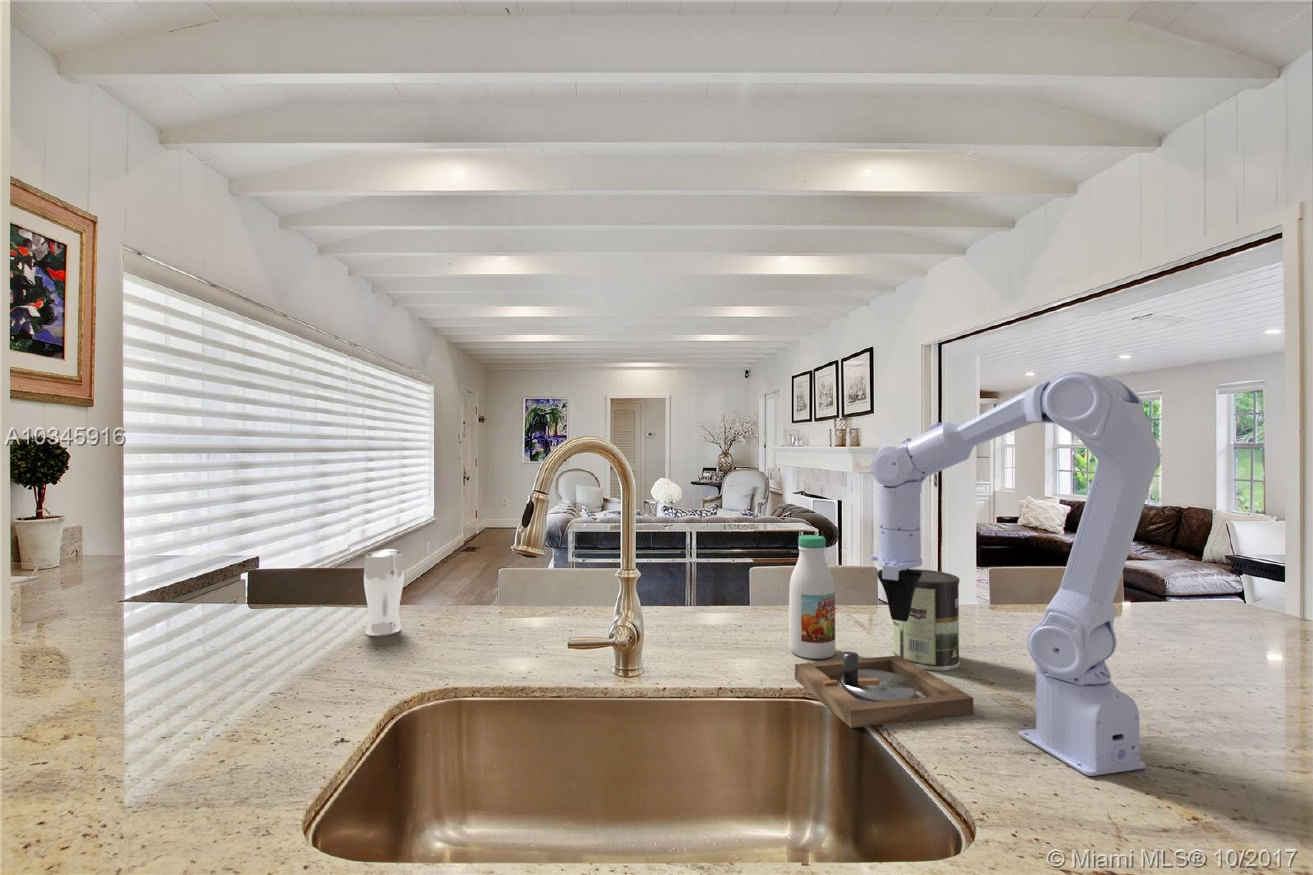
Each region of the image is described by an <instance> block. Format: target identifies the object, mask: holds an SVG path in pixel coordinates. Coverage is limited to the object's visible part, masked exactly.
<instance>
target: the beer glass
mask: <svg viewBox="0 0 1313 875" xmlns="http://www.w3.org/2000/svg"><path fill="white" fill-rule="evenodd" d="M364 557H365V558H364V566H363V586H364V587H363V588H364V592H365V598H366V604H367V610H368V611H367V613H368V614H367V615H368V617H367V624H366V628H365V634H366V635H367V637H368V636H369V637H387V636H391V635H394V634H397V633H399V632H401V630H402V626H401V620H400V604H401V599H402V593H403V588H404V580H405V565H404V563H405V562H404V552H403V550H399V549H383V550H375V551H373V550H372V551H369V552H366V553H365V556H364Z"/></svg>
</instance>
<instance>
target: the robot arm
mask: <svg viewBox="0 0 1313 875" xmlns="http://www.w3.org/2000/svg"><path fill="white" fill-rule="evenodd" d="M1144 410H1145V409H1144V401H1143V400H1142V399H1141V398H1140V397H1139V396H1138V395H1137V394H1136V393H1135V392H1134V391H1133V390H1131V389H1130V387H1128V386H1127V385H1126V384H1125V383H1124V382H1123V381H1120V380H1119V379H1116V378H1113V377H1109V376H1108V377H1107V376H1096V375H1094V374H1091V373H1088V372H1085V371H1084V372H1083V371H1071V372H1067V373H1063V374H1060V375H1058V376H1057V377H1056V378H1054V379H1053V380H1052V381H1050V380H1049V381H1048V380H1047V381H1044V382H1040V383H1038V384H1036V385H1034V386H1032V387H1030V388H1029V389H1027V390H1025V391H1024V392H1021V393H1019V394H1018V395H1016V396H1014V397H1012V398H1010V399H1008V400H1007V401H1004V402H1003V403H1001V404H999V405H997V406H996V407H995V406H994V407H993V408H991V409H989V410H988V411H984V412H983V413H982V414H980V415H978V416H976V417H974V418H972V419H971V420H968V421H966V422H964V423H963V424H961V425H957V424H954V423H952V422H945V423H942V422H933V423H932V424H930V425H929V426H928V428H929V430H928V431H926V432H923V433H922V434H920V435H917V436H916V437H914V438H910V437H909V438H904V439H902V440H901V444H900V445H899V447H896V446H883V447H882V448H881V449H880V450H879V451H877V452H876V453H875V454H874V456H873V457H872V460H871V464H870V468H871V469H870V470H871V473H872V476H873V478H874V479H875V481H876V482H877V483H878V491H879V492H878V518H879V519H878V530H879V531H878V542H879V544H878V545H879V546H878V547H879V551H878V553H873V554H870V560H871V561H874V562H878V563H879V564H880V566H881V569H879V570H878V571H877V579H878V580H879V582H880V584H881V585H882V587H883V590H884V592H885V596H886V600H887V605H888V609H889V614H890V617H891V620H892V621H893V620H898V621H904V622H907V620H908V618H909V615H910V610H911V605H912V600H913V595H914V591H915V588H916V586H917V583H918V581H919V579H920V577H921V576H922V571H919V570H920V569H919V570H912V569H914V568H917V567H921V566H922V565H923V558H922V557H921V556H922V554H921V553H922V550H921V549H922V548H921V544H922V543H921V540H922V537H921V535H922V534H921V532H922V531H921V530H922V528H921V524H922V523H921V518H922V517H921V515H922V514H921V503H922V502H921V500H922V499H921V494H922V485H923V482H924V481H925V480H926V479H927V477H930V476H931V475H934V474H936V473H939V472H941V471H943V470H946V469H948V468H950V467H953V466H955V465H958V464H960V463H962V462H965V461H966V460H967V461H968V459H969V458H970V456H971V454H972V452H973V449H974V447H975V446H978V445H981V444H983V443H985V442H988V441H990V440H993V439H996V438H999V437H1001V436H1004V435H1007V434H1009V433H1012V432H1014V431H1016V430H1019V429H1021V428H1025V427H1027V426H1029V425H1033V424H1056V425H1057V426H1059V427H1061V428H1063V429H1064V430H1066V431H1068V432H1069V433H1071V434H1072V435H1074V436H1076V437H1077V438H1079V440H1080V441H1081V442H1082V444H1084V446H1085V447H1086V448H1087V449H1088V451H1089V452H1090V453H1091V454H1092V455H1093V456H1094V457H1095V459H1096V460H1097V464H1096V467H1095V470H1094V474H1093V478H1092V481H1091V484H1090V488H1089V490H1088V494H1087V497H1086V501H1085V503H1084V507H1083V510H1082V514H1081V516H1080V520H1079V524H1078V527H1077V530H1076V534H1075V537H1074V540H1073V543H1072V547H1071V549H1070V553H1069V556H1068V559H1067V563H1066V566H1065V570H1064V572H1063V576H1062V579H1061V582H1060V586H1059V589H1058V590H1057V592H1056V593H1055V595H1054V596H1053V597H1052V599H1051V600H1050V602H1049V603H1048V605H1047V606H1046V608H1045V611H1044V615H1043V617H1042V619H1041V620H1040V621H1039V622H1038V623H1037V624H1035V625H1034V626H1032V628H1031V629H1030V630H1029V633H1027V634H1028V635H1027V638H1026V640H1027V641H1026V644H1027V645H1026V646H1027V650H1028V653H1029V655H1030V658H1031V659H1032V660H1033V662H1034V663H1035V710H1036V711H1035V712H1036V713H1035V726H1036V727H1035V728H1029V729H1022V730H1018V735H1019V736H1020V737H1021V738H1023V739H1024V740H1026V741H1028V742H1029V743H1031V744H1033V745H1035V746H1036V747H1038V748H1040V749H1042V750H1043V751H1045V752H1047V753H1048V754H1050V755H1051V756H1053V757H1054V758H1057V759H1058V760H1060V761H1062V762H1063V763H1065V764H1066V765H1069V766H1071V767H1072V768H1073V769H1075V770H1076V771H1078V772H1080V773H1082V774H1083V775H1086V776H1089V777H1092V776H1093V777H1094V776H1101V775H1108V774H1113V773H1114V774H1116V773H1120V772H1127V771H1128V772H1129V771H1134V770H1142V769H1145V768H1146V763H1145V762H1143V761H1141V760H1140V758H1141V756H1140V754H1141V752H1140V747H1141V746H1140V713H1139V709H1138V706H1137V704H1136V702H1135V701H1134V699H1133V698H1132V697H1130V695H1127V693H1125V692H1123V691H1122V690H1120V689H1118V688H1117V687H1116V686H1115V684H1114V683H1113V682H1112V680H1111V675H1112V674H1111V672H1110V669H1109V668H1108V665H1107V664H1106V660H1107V659H1110V658H1111V657H1112V656H1113V654H1114V652H1116V648H1117V636H1116V633H1115V630H1114V621H1115V618H1116V614H1117V610H1116V608H1115V604H1114V599H1115V597H1116V592H1117V589H1118V586H1119V584H1120V582H1121V581H1120V580H1121V577H1122V575H1123V571H1124V569H1125V565H1126V563H1127V559H1128V556H1129V553H1130V549H1131V548H1132V547H1131V546H1132V544H1133V540H1134V537H1135V533H1136V532H1137V528H1138V525H1139V522H1140V519H1141V516H1142V512H1143V509H1144V506H1145V503H1146V500H1147V497H1148V494H1149V491H1150V487H1151V484H1152V482H1153V479H1154V476H1155V473H1156V472H1155V471H1156V469H1157V466H1158V463H1159V460H1160V448H1159V445H1158V443H1157V440H1156V437H1155V436H1154V434H1153V431H1152V429H1151V428H1152V427H1151V426H1150V424H1149V422H1148V418H1147V416H1146V414H1145V411H1144Z"/></svg>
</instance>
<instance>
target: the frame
mask: <svg viewBox="0 0 1313 875" xmlns="http://www.w3.org/2000/svg"><path fill="white" fill-rule="evenodd" d="M858 669H872V670H881V671H886V672H890V673H894V674H897V675H900V676H902V677H905V678H906V679H908V680H910V681H911V682H912V683H913V684H914V685H915V687H916V692H918V693H920V694H921V695H923V696H924V697H916V698H912V699H902V700H892V701H882V702H872V703H861V702H859V701H858V700H857V699H856V698H854V697H853V696H852V695H850V694H849V693H848V692H847V691H845V690H844V689H843V688H841V685H839V681H837V680H839V679H840V680H841V677H842V675H843V659H842V660H841V659H839V660H828V661H816V662H815V661H814V662H806V663H805V662H803V663H795V664H794V679H795V681H797V682H798V683H799V684H800V685H801V686H802V687H804V688H805V687H806V688H805V689H806V690H807V691H808V693H809V692H810V694H812V695H813V696H814V697H815V698H816V699H817V700H818V701H819V702H820V703H822V704H823V705H824V706H826V708H828V709H829V710H830V711H831V712H832V713H833V714H834V715H835V716H837V717H838V719H840V720H841V721H842V722H844V723H845V725H847V726H848V727H849V728H850V729H853V728H862V727H863V728H865V727H869V726H870V727H871V726H879V725H880V726H881V725H891V724H900V723H908V722H916V721H917V722H918V721H927V720H934V719H945V718H954V717H960V716H961V717H963V716H971V715H972V716H973V715H974V697H972V696H971V695H969V694H968V693H967V692H964V691H962V690H961V689H959V688H957V687H955V686H954V685H952V684H950V683H948V682H947V681H945V680H943V679H941V678H940V677H938V676H936V675H934V674H933V673H931V672H928V670H925V669H922V668H920V667H918V666H917V665H915V664H913V663H911V662H910V661H908V660H906V659H904V658H903V657H901V656H893V655H889V656H877V657H865V658H858Z"/></svg>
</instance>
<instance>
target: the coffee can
mask: <svg viewBox="0 0 1313 875" xmlns="http://www.w3.org/2000/svg"><path fill="white" fill-rule="evenodd" d="M911 569H912V570H919V571H922V576H921V577H920V579H919V581H918V583H917V586H916V588H915V591H914V595H913V600H912V605H911V610H910V615H909V618H908V620H907V622H904V621H898V620H892V625H893V626H892V633H893V634H892V635H893V636H892V638H893V639H892V640H893V641H892V644H893V645H892V646H893V647H892V648H893V650H892V651H893V652H892V656H901V657H903V658H904V659H906V660H908V661H910V662H911V663H913V664H915V665H917V666H918V667H920V668H922V669H924V670H925V671H937V672H938V671H941V672H942V671H943V672H944V671H946V672H947V671H952V670H956V669H958V668H959V666H960V665H961V662H960V632H959V631H960V626H959V624H960V623H959V622H960V621H959V619H960V615H959V614H960V611H959V610H960V607H959V605H960V604H959V601H960V600H959V598H960V597H959V596H960V595H959V592H960V591H959V590H960V589H959V585H960V577H959V576H956V575H954V574H951V573H948V572H944V571H938V570H931V569H920V568H919V569H914V568H911Z"/></svg>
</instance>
